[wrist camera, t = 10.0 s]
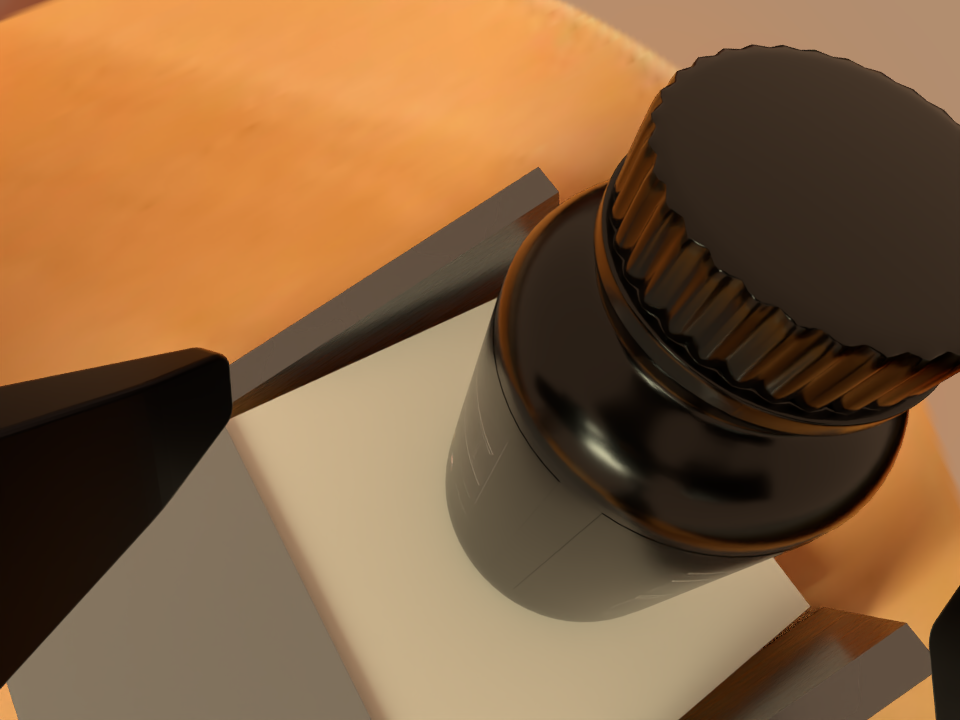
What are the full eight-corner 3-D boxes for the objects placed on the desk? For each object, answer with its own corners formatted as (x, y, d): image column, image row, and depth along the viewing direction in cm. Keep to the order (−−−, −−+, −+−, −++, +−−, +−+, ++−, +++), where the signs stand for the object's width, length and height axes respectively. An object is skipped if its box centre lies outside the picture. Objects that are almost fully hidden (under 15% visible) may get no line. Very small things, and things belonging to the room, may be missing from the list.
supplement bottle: (683, 404, 20) (1053, 62, 9) (684, 648, 16) (1260, 539, 6) (461, 355, 19) (589, -63, 9) (414, 597, 16) (532, 381, 6)
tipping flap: (198, 1078, 14) (161, 1166, 11) (19, 564, 17) (-40, 538, 15) (753, 619, 20) (813, 605, 17) (534, 317, 24) (556, 268, 21)
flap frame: (302, 1019, 18) (201, 1188, 13) (106, 532, 22) (-21, 525, 18) (847, 639, 18) (941, 667, 14) (546, 247, 23) (538, 166, 18)
